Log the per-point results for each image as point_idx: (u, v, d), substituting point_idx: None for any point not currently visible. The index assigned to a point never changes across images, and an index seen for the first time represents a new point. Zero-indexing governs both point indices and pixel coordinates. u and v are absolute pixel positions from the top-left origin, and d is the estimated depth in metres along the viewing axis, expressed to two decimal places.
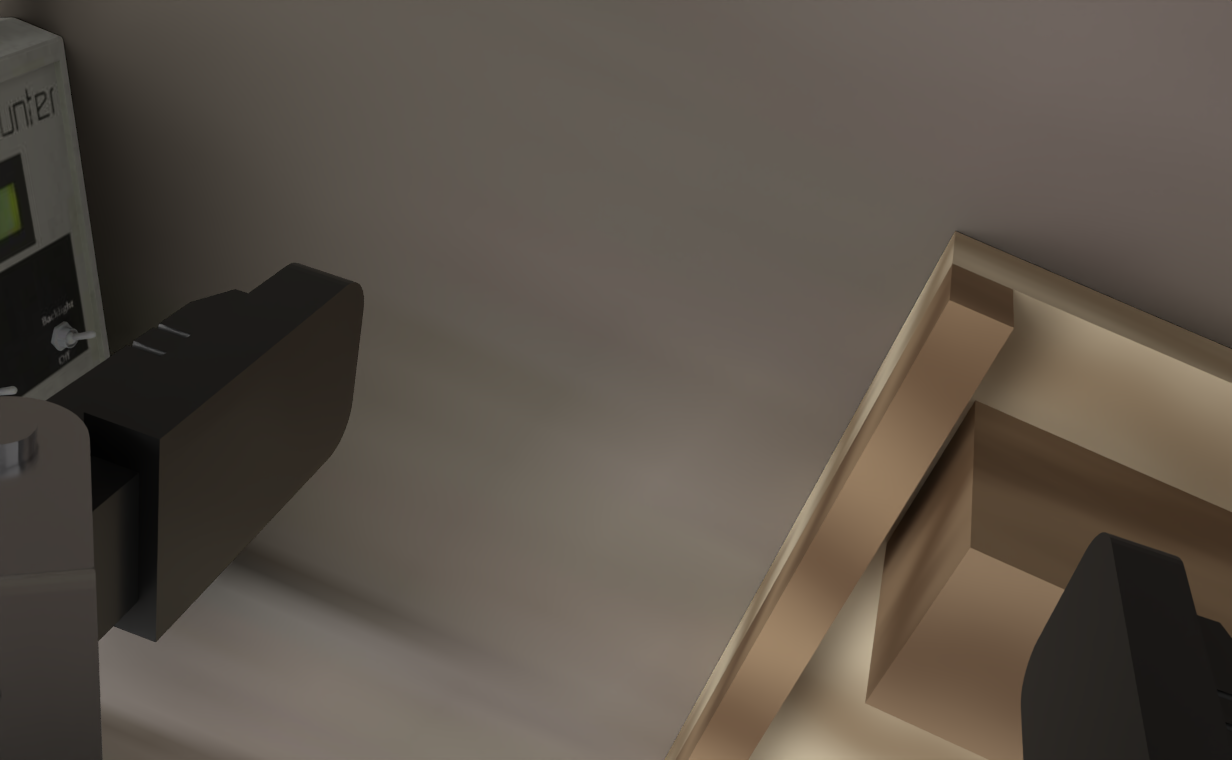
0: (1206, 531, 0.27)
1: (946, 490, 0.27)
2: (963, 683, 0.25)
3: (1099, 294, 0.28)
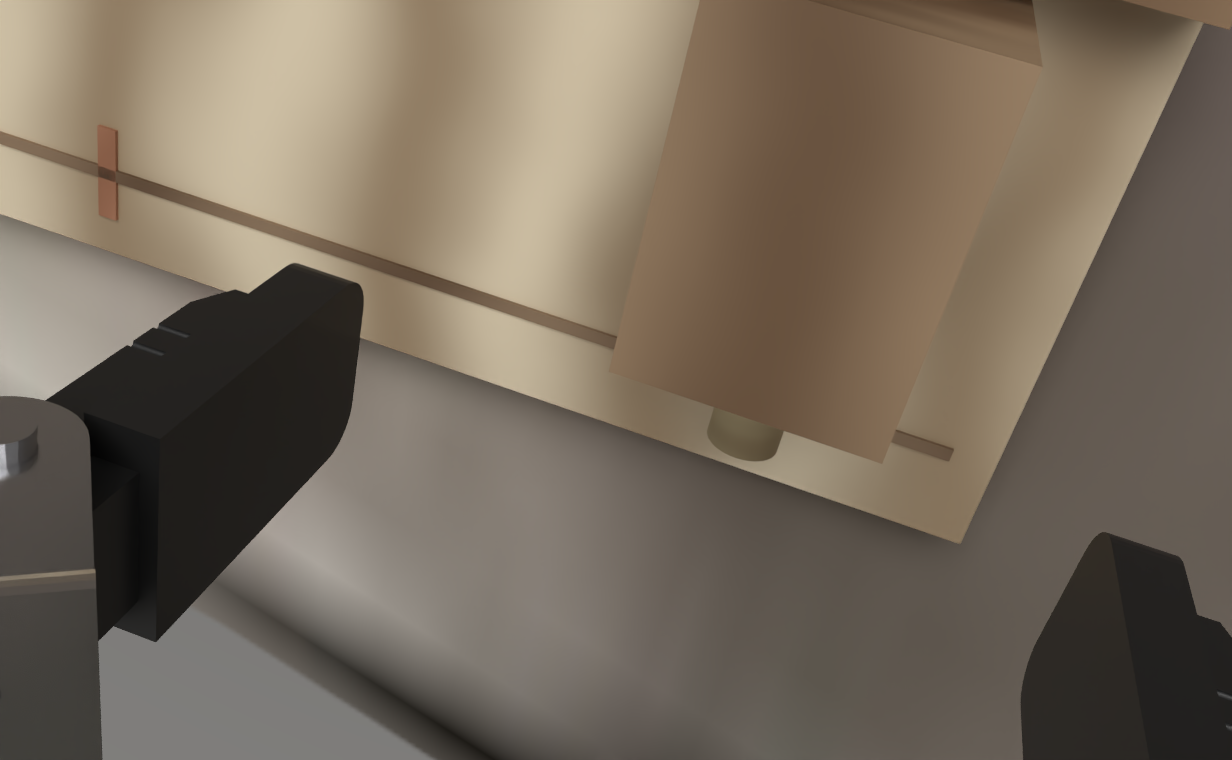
0: None
1: None
2: (788, 102, 0.18)
3: None
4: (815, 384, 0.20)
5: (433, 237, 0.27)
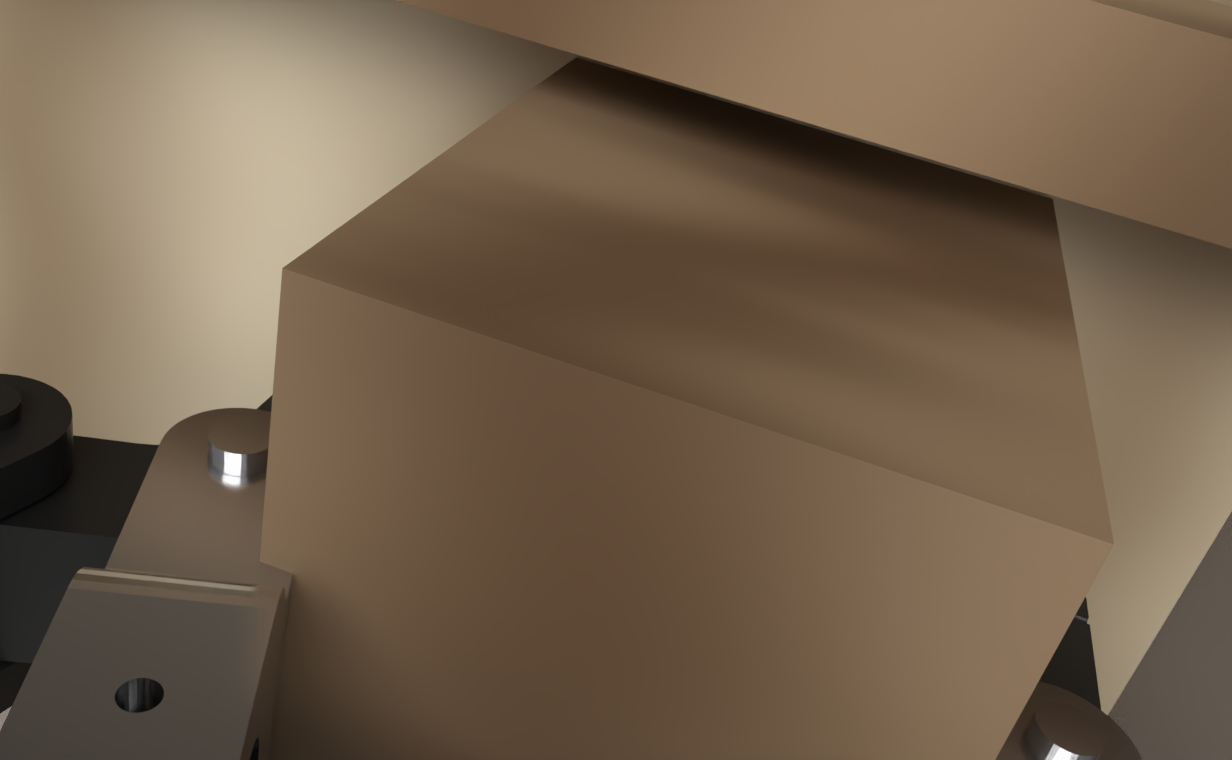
0: None
1: (908, 233, 0.10)
2: (507, 556, 0.08)
3: None
4: None
5: None
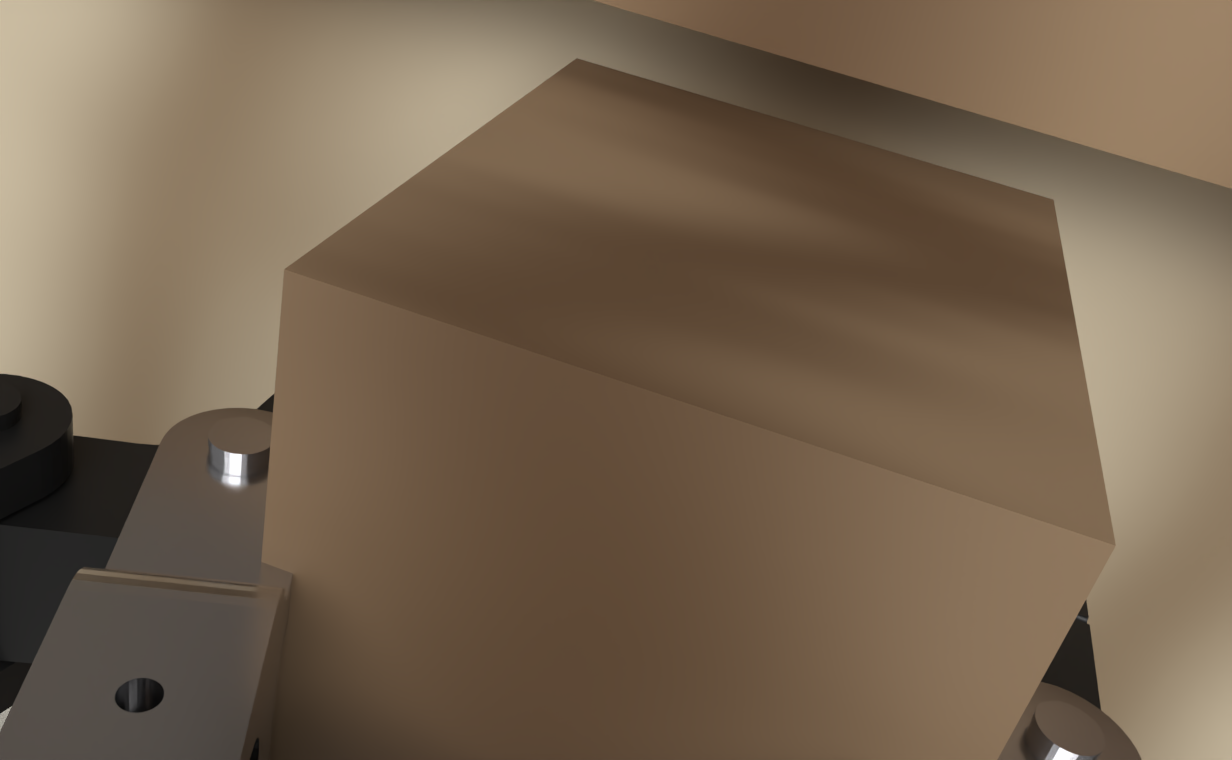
0: None
1: (909, 234, 0.10)
2: (507, 558, 0.08)
3: None
4: None
5: None
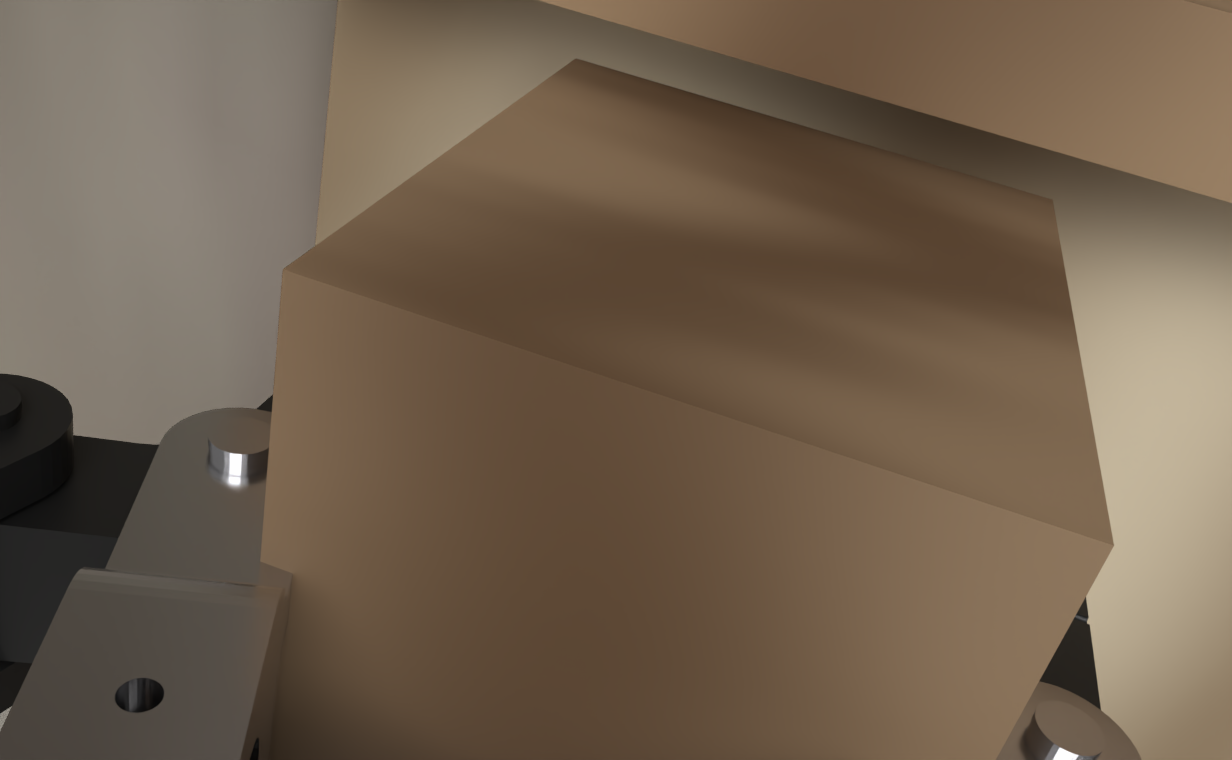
0: None
1: (908, 234, 0.10)
2: (507, 556, 0.08)
3: None
4: None
5: None
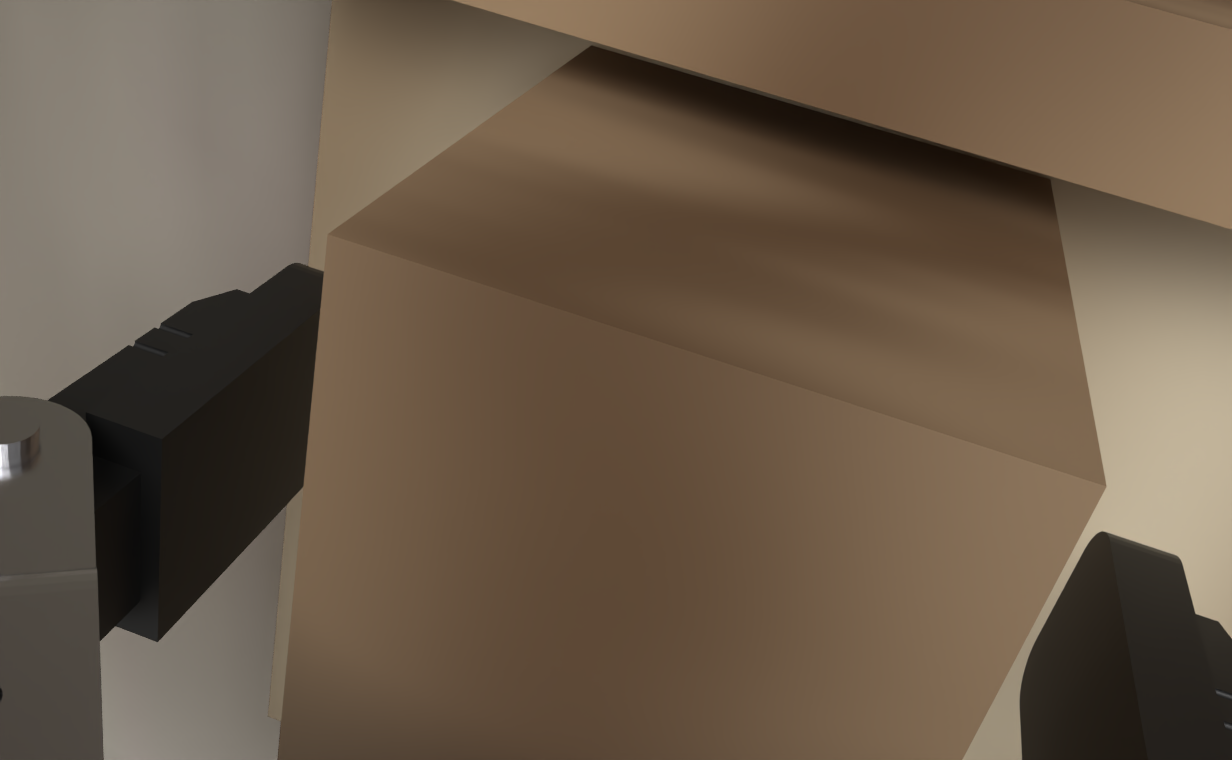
0: None
1: (912, 209, 0.10)
2: (535, 507, 0.08)
3: None
4: None
5: None
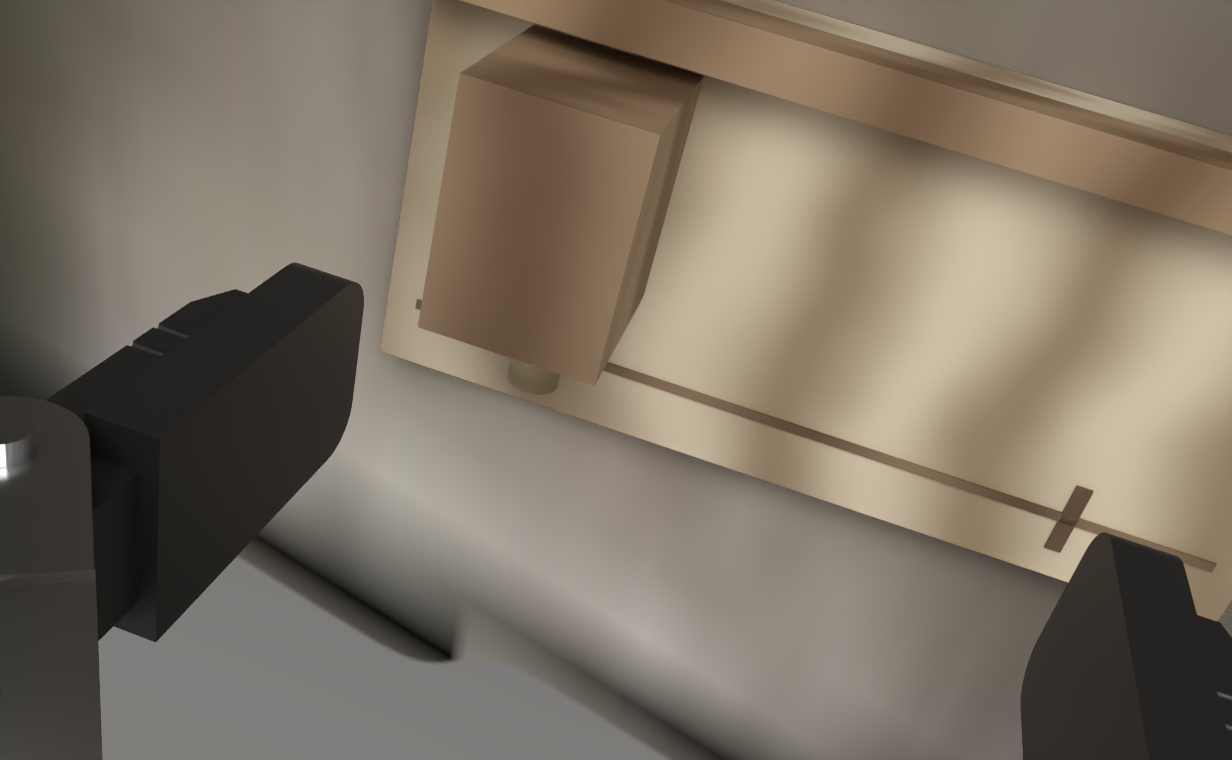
0: (643, 277, 0.34)
1: (640, 80, 0.31)
2: (515, 153, 0.28)
3: None
4: (548, 333, 0.30)
5: (818, 403, 0.36)
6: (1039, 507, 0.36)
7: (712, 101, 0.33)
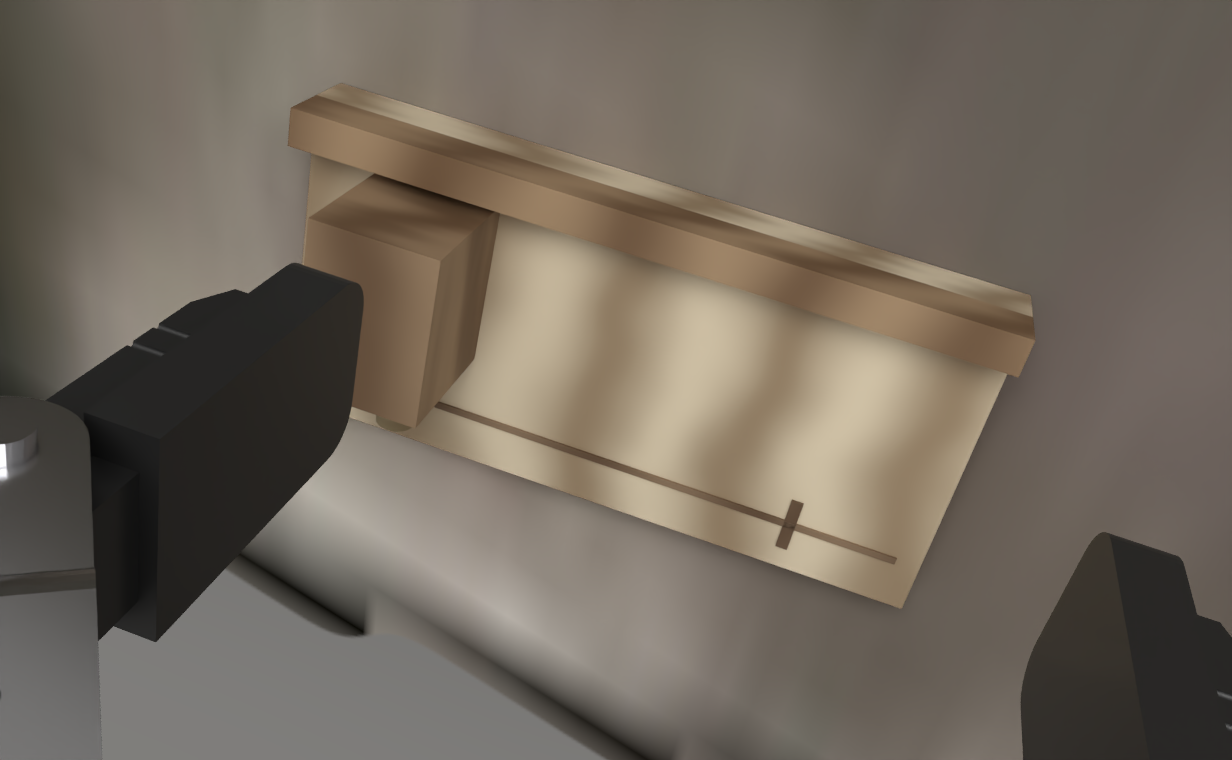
0: (466, 347, 0.47)
1: (447, 213, 0.43)
2: (348, 271, 0.41)
3: None
4: (381, 392, 0.43)
5: (604, 437, 0.49)
6: (767, 516, 0.48)
7: (509, 222, 0.45)
